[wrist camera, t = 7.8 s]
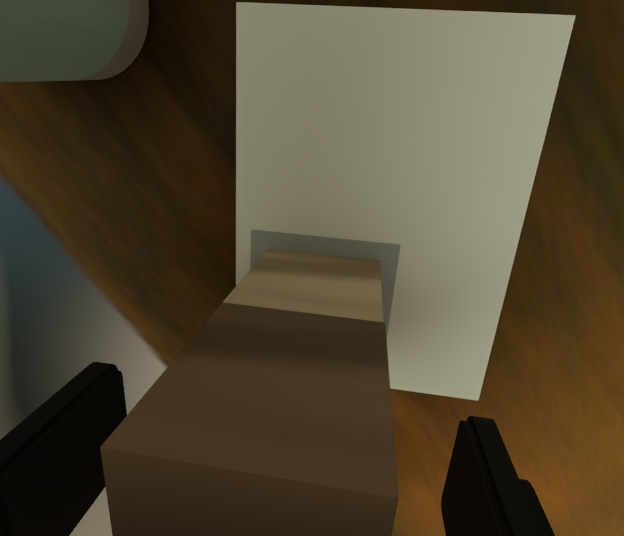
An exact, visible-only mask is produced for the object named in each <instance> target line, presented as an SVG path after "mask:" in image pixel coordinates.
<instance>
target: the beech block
mask: <svg viewBox="0 0 624 536" xmlns="http://www.w3.org/2000/svg"><path fill="white" fill-rule="evenodd" d="M223 302H224V303H232V304H240V305H248V306H256V307H264V308H272V309H280V310H288V311H296V312H304V313H312V314H320V315H328V316H336V317H344V318H352V319H360V320H368V321H376V322H384V319H383V304H382V289H381V274H380V260H370V259H361V258H351V257H342V256H332V255H323V254H314V253H304V252H295V251H285V250H276V249H267V250H266V251H265V253H264V254H263V255H262V256H261V257H260V259H259V260H258V261H257V262H256V263H255V265H254V266H253V267H252V268H251V269H250V270H249V272H248V273H247V274H246V275H245V276H244V278H243V279H242V280H241V281H240V282H239V283H238V285H237V286H236V287H235V288H234V289H233V291H232V292H231V293H230V294H229V295H228V296H227V298H226V299H225V300H224V301H223Z"/></svg>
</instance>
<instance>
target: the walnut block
mask: <svg viewBox="0 0 624 536" xmlns="http://www.w3.org/2000/svg"><path fill="white" fill-rule="evenodd" d="M100 450H101V457H102V464H103V471H104V478H105V485H106V491H107V498H108V506H109V512H110V520H111V527H112V534H113V536H391V534H392V529H393V523H394V518H395V513H396V508H397V503H398V487H397V473H396V460H395V446H394V433H393V420H392V406H391V393H390V379H389V366H388V352H387V339H386V326H385V322H376V321H368V320H360V319H352V318H344V317H336V316H328V315H320V314H312V313H304V312H296V311H288V310H280V309H272V308H264V307H256V306H248V305H240V304H232V303H224V302H222V304H221V305H220V306H219V307H218V308H217V310H216V311H215V312H214V313H213V314H212V316H211V317H210V318H209V319H208V320H207V321H206V323H205V324H204V325H203V326H202V327H201V329H200V330H199V331H198V332H197V333H196V334H195V336H194V337H193V338H192V339H191V340H190V342H189V343H188V344H187V345H186V346H185V348H184V349H183V350H182V351H181V352H180V353H179V355H178V356H177V357H176V358H175V359H174V361H173V362H172V363H171V364H170V365H169V366H168V368H167V369H166V370H165V371H164V372H163V374H162V375H161V376H160V377H159V379H158V380H157V381H156V382H155V383H154V384H153V385H152V387H151V388H150V389H149V390H148V391H147V393H146V394H145V395H144V396H143V397H142V399H141V400H140V401H139V402H138V403H137V404H136V406H135V407H134V408H133V409H132V410H131V411H130V413H129V414H128V415H127V416H126V417H125V419H124V420H123V421H122V422H121V423H120V424H119V426H118V427H117V428H116V429H115V430H114V432H113V433H112V434H111V435H110V436H109V438H108V439H107V440H106V441H105V442H104V443H103V445H102V446H101V447H100Z"/></svg>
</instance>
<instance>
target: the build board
mask: <svg viewBox="0 0 624 536" xmlns="http://www.w3.org/2000/svg"><path fill="white" fill-rule="evenodd" d="M575 16H576V15H553V14H528V13H502V12H477V11H451V10H426V9H400V8H375V7H349V6H324V5H298V4H272V3H247V2H236V286H237V285H238V283H239V282H240V281H241V280H242V279H243V278H244V276H245V275H246V274H247V273H248V272H249V270H250V269H251V268H252V267H253V266H254V265H255V263H256V262H257V261H258V260H259V259H260V257H261V256H262V255H263V254H264V253H265V251H266V250H267V249H276V250H285V251H295V252H304V253H314V254H323V255H332V256H342V257H351V258H361V259H370V260H380V274H381V289H382V304H383V319H384V322H385V326H386V339H387V352H388V366H389V379H390V388H391V389H398V390H405V391H413V392H420V393H427V394H434V395H441V396H448V397H456V398H463V399H470V400H477V401H478V400H479V396H480V392H481V388H482V384H483V380H484V376H485V372H486V368H487V364H488V360H489V356H490V352H491V348H492V344H493V340H494V337H495V333H496V329H497V325H498V321H499V317H500V313H501V309H502V305H503V301H504V297H505V293H506V289H507V285H508V281H509V277H510V273H511V269H512V265H513V261H514V257H515V253H516V249H517V246H518V242H519V238H520V234H521V230H522V226H523V222H524V218H525V214H526V210H527V206H528V202H529V198H530V194H531V190H532V186H533V182H534V178H535V174H536V170H537V166H538V162H539V158H540V155H541V151H542V147H543V143H544V139H545V135H546V131H547V127H548V123H549V119H550V115H551V111H552V107H553V103H554V99H555V95H556V91H557V87H558V83H559V79H560V75H561V71H562V67H563V64H564V60H565V56H566V52H567V48H568V44H569V40H570V36H571V32H572V28H573V24H574V20H575Z"/></svg>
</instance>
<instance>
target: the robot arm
mask: <svg viewBox="0 0 624 536" xmlns="http://www.w3.org/2000/svg"><path fill="white" fill-rule="evenodd" d="M126 416H127V412H126V403H125V395H124V386H123V378H122V373H121V371H118V369H117V367H116V365H114V364H107V363H100V362H93V363H92V364H90V365H89V366H87V367H86V368H85V369H84V370H83V371H82V372H80V373H79V374H78V375H77V376H75V378H73V379H72V380H71V381H69V382H68V383H67V384H66V385H65V386H64V387H62V388H61V389H60V390H59V391H58V392H57V393H55V394H54V395H53V396H52V397H51V398H49V399H48V400H47V401H46V402H45V403H44V404H42V405H41V406H40V407H39V408H38V409H36V410H35V411H34V412H33V413H32V414H30V415H29V416H28V417H27V418H26V419H25V420H23V421H22V422H21V423H20V424H19V425H17V426H16V427H15V428H14V429H13V430H12V431H10V432H9V433H8V434H7V435H6V436H4V437H3V438H2V439H1V440H0V536H69V535H70V534H71V532H72V531H73V530H74V528H75V527H76V526H77V524H78V523H79V522H80V520H81V519H82V517H83V516H84V514H85V513H86V512H87V511H88V509H89V508H90V507H91V505H92V504H93V503H94V501H95V500H96V498H97V497H98V496H99V494H100V493H101V492H102V490H103V489H104V488H105V486H106V485H105V478H104V471H103V464H102V457H101V450H100V447H101V446H102V445H103V443H104V442H105V441H106V440H107V439H108V438H109V436H110V435H111V434H112V433H113V432H114V430H115V429H116V428H117V427H118V426H119V424H120V423H121V422H122V421H123V420H124V419H125V417H126ZM441 509H442V516H443V522H444V527H445V533H446V536H555V535H554V533H553V530H552V528H551V526H550V524H549V522H548V519H547V517H546V515H545V513H544V510H543V508H542V506H541V504H540V502H539V499H538V497H537V495H536V493H535V490H534V489H533V487H532V485H531V483H530V482H528V481H527V480H523V479H519V478H518V476H517V473H516V471H515V468H514V466H513V464H512V461H511V459H510V457H509V454H508V452H507V449H506V447H505V445H504V442H503V440H502V438H501V435H500V433H499V430H498V428H497V426H496V423H495V422H494V420H493V419H489V418H482V417H475V416H469V417H468V419H467V421H460V424H459V427H458V431H457V436H456V440H455V444H454V448H453V452H452V457H451V461H450V465H449V469H448V473H447V477H446V482H445V486H444V490H443V494H442V501H441Z"/></svg>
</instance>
